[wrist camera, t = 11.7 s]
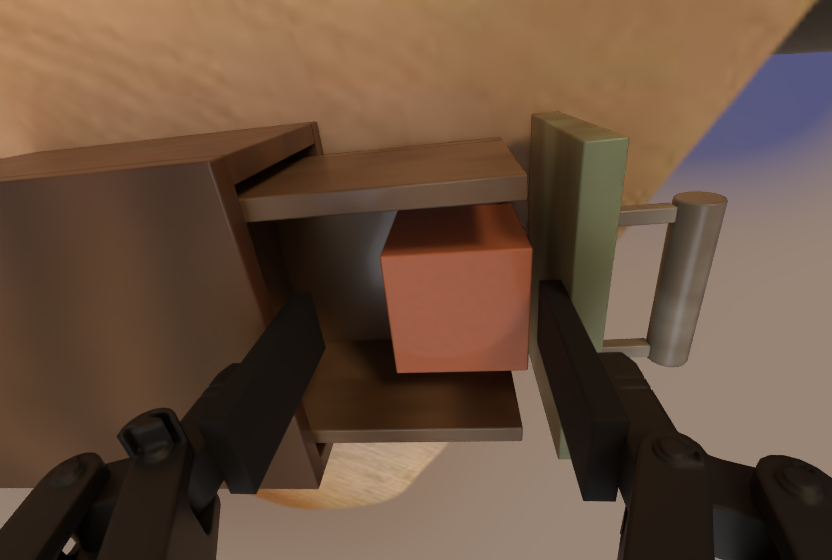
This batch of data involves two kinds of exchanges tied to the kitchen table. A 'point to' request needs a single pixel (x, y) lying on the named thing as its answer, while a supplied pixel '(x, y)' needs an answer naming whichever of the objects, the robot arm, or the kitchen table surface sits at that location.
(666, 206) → the drawer
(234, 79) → the kitchen table surface
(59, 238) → the cabinet
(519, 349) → the block
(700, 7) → the kitchen table surface
